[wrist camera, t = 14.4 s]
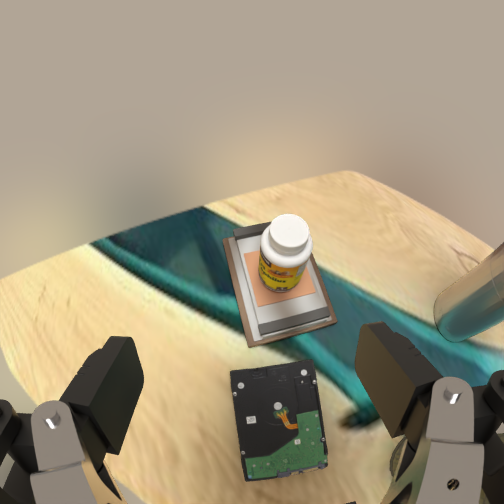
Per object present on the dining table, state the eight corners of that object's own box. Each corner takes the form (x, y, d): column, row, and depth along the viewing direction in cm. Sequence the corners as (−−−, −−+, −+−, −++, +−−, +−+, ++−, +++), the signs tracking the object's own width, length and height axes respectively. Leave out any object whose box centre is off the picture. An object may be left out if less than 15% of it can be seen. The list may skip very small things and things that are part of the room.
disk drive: (229, 372, 33) (245, 477, 26) (227, 370, 31) (244, 483, 23) (308, 360, 34) (326, 462, 26) (313, 357, 31) (331, 467, 24)
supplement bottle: (249, 275, 36) (249, 230, 27) (277, 247, 38) (284, 198, 29) (282, 302, 34) (294, 265, 25) (309, 272, 36) (328, 228, 27)
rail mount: (298, 227, 43) (302, 212, 40) (335, 324, 35) (344, 315, 32) (223, 243, 42) (220, 228, 38) (248, 347, 34) (248, 342, 30)
